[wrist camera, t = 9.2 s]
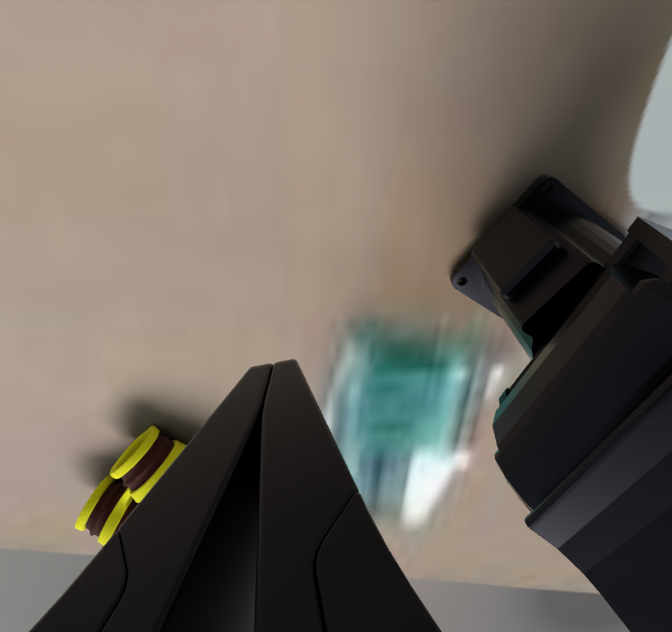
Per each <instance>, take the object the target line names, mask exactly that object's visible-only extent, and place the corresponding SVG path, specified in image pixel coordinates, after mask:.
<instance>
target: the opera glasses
mask: <svg viewBox="0 0 672 632" xmlns="http://www.w3.org/2000/svg"><path fill="white" fill-rule="evenodd" d="M185 447H186V445H185V444H183V443H181V442H179V441H177V440H173V441H170V440H169V438H168V436H163V437H162V436H160V435H159V430H158V429H157V428H156V427H155V426H151V427H150V428H148V429H147V430H146V431H145V432H144V433H143V434H141V435H140V436H139V437H138V438H137V439H136V440H135V441H134V442H133V443H132V444H131V445H130V446H129V447H128V448H127V449H126V450H125V452H124V453H123V454H122V455H121V456H120V458H119V459H118V460H117V461H116V463H115V464H114V466H113V467H112V469H111V471H110V475H111V476H109V475H108V476H106V477H105V478H104V479H103V480H102V482H101V483H100V484H99V485H98V487H97V488H96V489H95V491H94V492H93V494H92V495H91V497H90V498H89V500H88V501H87V503H86V505H85V506H84V508H83V510H82V511H81V513H80V515H79V517H78V519H77V521H76V524H75V528H76V529H78V530H81V531H83V530H85V529H86V528H87V529H88V530H90V535H91V536H93V535H96V536H98V542H99V543H101V544H102V545H103V546H104V545H105V544H106V543H107V541H108V540H109V539H110V538H111V537H112V535H113V534H114V533H115V532H120V531H119V528H120V526H121V525H122V523H123V522H124V521H125V520H126V519H127V517H128V516H129V515H130V514H131V512H132V511H133V510H134V509H135V508H136V506H137V505H138V504H139V503H140V501H141V500H142V499H143V498H144V497H145V495H146V494H147V493H148V492H149V491H150V489H151V488H152V487H153V486H154V484H155V483H156V482H157V481H158V480H159V478H160V477H161V476H162V475H163V473H164V472H165V471H166V470H167V469H168V467H169V466H170V465H171V464H172V462H173V461H174V460H175V459H176V458H177V456H178V455H179V454H180V453H181V452H182V450H183V449H184V448H185ZM120 477H121V478H122V479H123V481H122V482H120V483H117V482H115V479H118V478H120Z"/></svg>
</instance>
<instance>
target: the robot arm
mask: <svg viewBox="0 0 672 632" xmlns="http://www.w3.org/2000/svg"><path fill="white" fill-rule="evenodd" d="M547 183H550V185H549V188H548V189H547V190H546V191H544V192H542V188H543V186H544V185H545V184H547ZM627 231H628V232H629V234H628V235H627V237H625V236H624V235H622V234H621V233H620V232H619V231H618V230H616V229H615V228H614V227H613V226H612V225H611V224H609V223H608V222H607V221H606V220H605V219H603V218H602V217H601V216H600V215H599V214H597V213H596V212H595V211H594V210H593V209H592V208H590V207H589V206H588V205H587V204H586V203H584V202H583V201H582V200H581V199H580V198H578V197H577V196H576V195H575V194H574V193H573V192H571V191H570V190H569V189H568V188H567V187H565V186H564V185H563V184H562V183H561V182H559V181H558V180H557V179H556V178H554V177H552V176H550V175H543V176H541V177H539V178H538V179H537V180H536V181H535V182H534V183H533V184H532V185H531V186H530V188H529V189H528V190H527V191H526V192H525V193H524V194H523V195H522V196H521V198H520V199H519V200H518V201H517V202H516V203H515V204H514V205H513V206H512V207H511V208H508V209H507V210H506V211H505V212H504V213H503V214H502V215H501V216H500V218H499V219H498V220H497V221H496V222H495V223H494V224H493V225H492V226H491V228H490V229H489V230H488V231H487V232H486V233H485V234H484V235H483V237H482V238H481V239H480V240H479V241H478V242H477V243H476V244H475V245H474V247H473V248H472V252H471V253H470V254H469V255H468V256H467V258H466V259H465V260H464V261H463V262H462V263H461V264H460V265H459V266H458V268H457V269H456V270H455V271H454V272H453V273H452V275H451V278H450V281H451V283H452V285H453V287H454V288H455V289H457V290H458V291H460V292H461V293H463V294H465V295H466V296H468V297H469V298H471V299H472V300H474V301H476V302H477V303H479V304H480V305H482V306H484V307H485V308H487V309H488V310H490V311H491V312H493V313H495V314H496V315H498V316H499V317H501V318H503V319H504V320H505V322H506V323H507V325H508V326H509V328H510V329H511V331H512V332H513V334H514V335H515V337H516V338H517V340H518V341H519V343H520V344H521V346H522V347H523V349H524V350H525V352H526V353H527V355H528V356H529V358H530V359H531V361H530V363H529V364H528V365H527V366H526V368H525V369H524V370H523V372H522V373H521V374H520V376H519V377H518V378H517V379H516V381H515V382H514V383H513V385H512V386H511V387H510V389H509V388H507V389H506V390H505V391H504V392H503V394H502V395H501V396H500V398H499V403H500V406H499V408H498V409H497V410H496V413H495V417H494V421H493V430H494V434H495V439H496V443H497V447H498V451H497V452H496V453H495V460H496V463H497V465H498V467H499V468H500V470H501V472H502V474H503V475H504V477H505V479H506V481H507V482H508V484H509V485H510V486H511V488H512V489H513V490H514V491H515V493H516V494H517V496H518V497H519V499H520V500H521V501H522V502H523V503H524V504H525V506H526V507H527V508H528V509H529V510H530V511H531V513H530V514H529V515H528V516H527V517H526V518H525V523H526V525H527V526H528V527H529V528H530V529H531V530H533V531H534V532H535V533H537V534H538V535H539V536H541V537H542V538H543V539H545V540H546V541H548V542H549V543H550V544H552V545H553V546H554V547H556V548H557V549H558V550H559V551H560V552H561V553H562V554H563V555H565V556H566V557H567V558H568V559H569V560H570V561H571V562H572V563H573V564H574V565H575V566H576V567H577V568H578V569H579V570H580V571H581V572H582V573H583V574H584V575H585V576H586V577H587V578H588V580H589V581H590V582H591V583H592V584H593V585H594V587H595V588H596V589H597V590H598V591H599V592H600V594H601V595H602V596H603V597H604V599H605V600H606V601H607V603H608V604H609V605H610V606H611V608H612V609H613V610H614V611H615V613H616V614H617V615H618V617H619V618H620V619H621V620H622V622H623V623H624V624H625V625H626V627H627V628H628V629H629V630H630V632H672V230H671V229H669V228H666V227H664V226H661V225H659V224H656V223H654V222H651V221H649V220H646V219H644V218H641V217H637V218H636V220H635V221H634V222H633V223H632V225H631V226H630V227H629V229H628V230H627ZM461 277H465V279H464V280H463V281H462V282H457V281H458V279H459V278H461ZM119 531H120V532H115V533H114V534H113V535H112V537H111V538H110V539H109V540H108V541H107V543H106V544H105V545H104V546H103V547H102V549H101V550H100V551H99V552H98V554H97V555H96V556H95V557H94V558H93V560H92V561H91V562H90V563H89V564H88V565H87V567H86V568H85V569H84V570H83V571H82V572H81V574H80V575H79V576H78V577H77V578H76V579H75V581H74V582H73V583H72V584H71V585H70V587H69V588H68V589H67V590H66V591H65V592H64V594H63V595H62V596H61V597H60V598H59V599H58V600H57V601H56V603H55V604H54V605H53V606H52V607H51V608H50V609H49V610H48V611H47V612H46V614H45V615H44V616H43V617H42V618H41V619H40V620H39V621H38V622H37V623H36V625H35V626H34V627H33V628H32V629H31V630H30V631H29V632H442V631H441V630H440V628H439V627H438V625H437V624H436V622H435V621H434V619H433V618H432V616H431V615H430V614H429V612H428V610H427V609H426V607H425V606H424V604H423V603H422V601H421V600H420V598H419V597H418V595H417V594H416V592H415V591H414V589H413V588H412V586H411V585H410V583H409V582H408V580H407V578H406V576H405V575H404V573H403V572H402V570H401V568H400V567H399V565H398V563H397V562H396V560H395V559H394V557H393V555H392V554H391V552H390V551H389V549H388V547H387V545H386V543H385V541H384V539H383V538H382V536H381V534H380V532H379V530H378V528H377V526H376V524H375V522H374V520H373V519H372V517H371V515H370V513H369V510H368V508H367V506H366V504H365V502H364V500H363V498H362V496H361V494H359V490H358V488H357V486H356V484H355V482H354V480H353V477H352V475H351V473H350V471H349V469H348V467H347V465H346V463H345V461H344V459H343V457H342V454H341V452H340V450H339V448H338V446H337V444H336V442H335V440H334V438H333V436H332V433H331V431H330V429H329V427H328V425H327V423H326V421H325V419H324V417H323V415H322V412H321V410H320V408H319V406H318V404H317V402H316V400H315V398H314V396H313V394H312V392H311V389H310V387H309V385H308V383H307V381H306V379H305V377H304V375H303V373H302V371H301V368H300V366H299V364H298V362H297V361H296V360H295V359H291V360H286V361H281V362H276V363H275V364H274V365H273V364H264V365H259V366H254V367H251V368H250V369H249V370H248V371H247V372H246V374H245V375H244V376H243V377H242V378H241V380H240V381H239V382H238V383H237V385H236V386H235V387H234V388H233V389H232V391H231V392H230V393H229V394H228V396H227V397H226V398H225V399H224V400H223V402H222V403H221V404H220V405H219V406H218V408H217V409H216V410H215V411H214V413H213V414H212V415H211V416H210V417H209V419H208V420H207V421H206V422H205V424H204V425H203V426H202V427H201V428H200V430H199V431H198V432H197V433H196V434H195V436H194V437H193V438H192V439H191V441H190V442H189V443H188V444H187V445H186V447H185V448H184V449H183V450H182V452H181V453H180V454H179V455H178V456H177V458H176V459H175V460H174V461H173V462H172V464H171V465H170V466H169V467H168V469H167V470H166V471H165V472H164V473H163V475H162V476H161V477H160V478H159V480H158V481H157V482H156V483H155V484H154V486H153V487H152V488H151V489H150V491H149V492H148V493H147V494H146V495H145V497H144V498H143V499H142V500H141V501H140V503H139V504H138V505H137V506H136V508H135V509H134V510H133V511H132V512H131V514H130V515H129V516H128V517H127V519H126V520H125V521H124V522H123V523H122V525H121V526H120V528H119Z"/></svg>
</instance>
